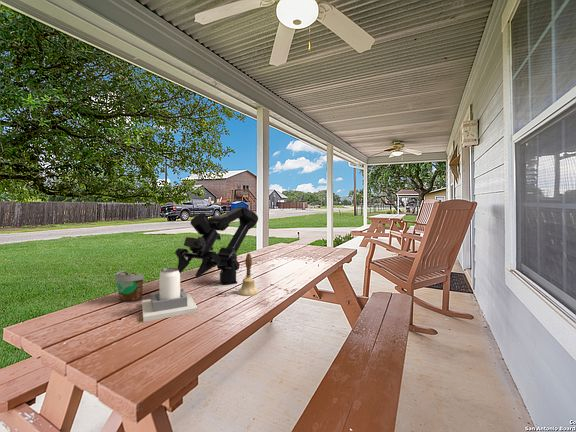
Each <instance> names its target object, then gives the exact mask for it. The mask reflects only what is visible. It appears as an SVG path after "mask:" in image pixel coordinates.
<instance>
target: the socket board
mask: <svg viewBox="0 0 576 432" xmlns="http://www.w3.org/2000/svg"><path fill="white" fill-rule="evenodd" d="M141 306H142V318H143V319H142V320H143V323H145V322H151V321H155V320H156V321H157V320H161V319H166V318H172V317H173V318H174V317H179V316H182V315H183V316H185V315H189V314H190V315H191V314H194V313H199V311H198V309H199V307H198V306H197V304H196V302H195V301H194V299H193V297H192V296H191V294H190V293H185V291H184V289H183V288H180V298H174V299H167V300H161V301H160V291H159V292H152V293H150V299H142V300H141Z"/></svg>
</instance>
